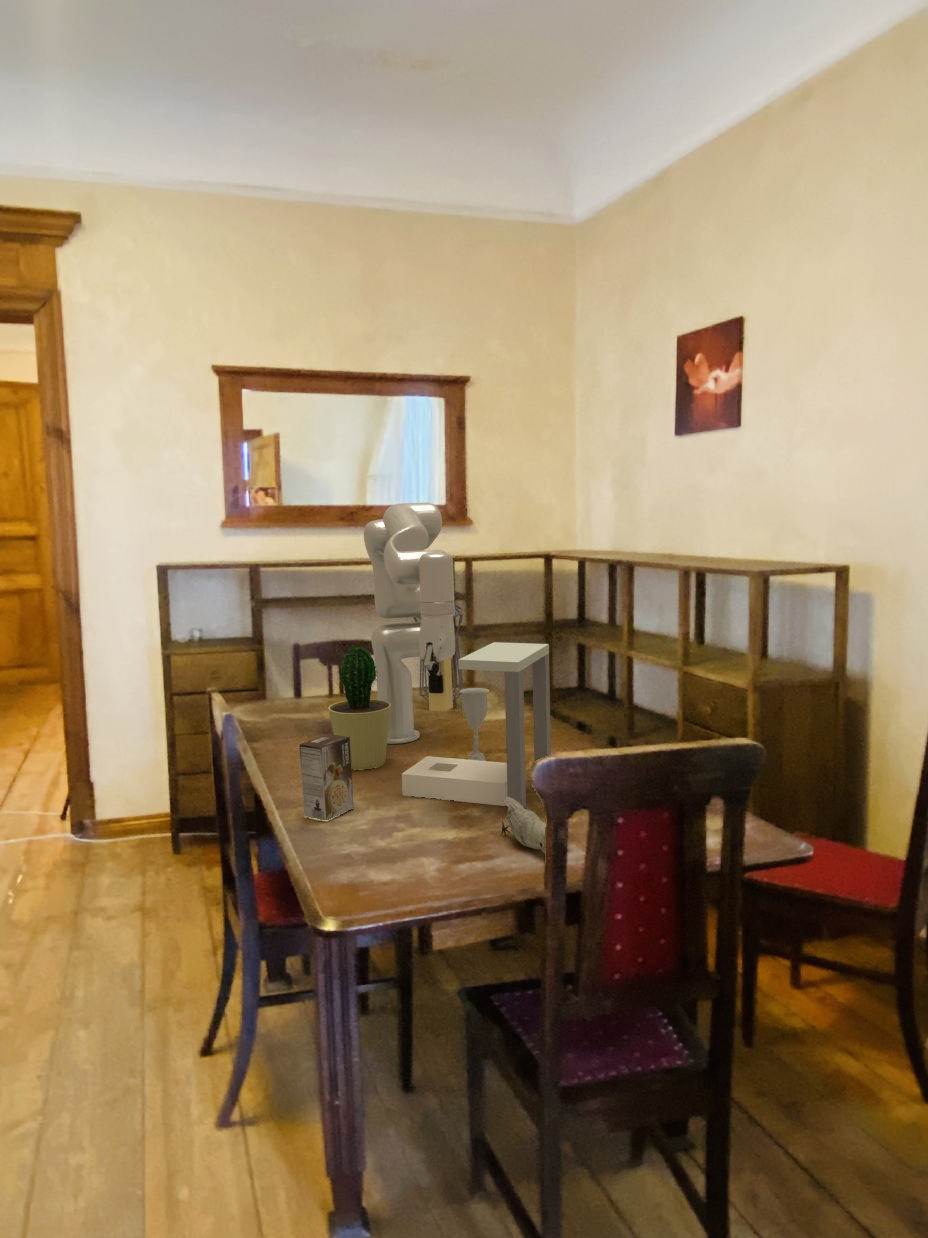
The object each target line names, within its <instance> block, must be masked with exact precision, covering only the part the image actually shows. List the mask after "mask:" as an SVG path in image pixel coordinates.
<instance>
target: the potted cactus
mask: <svg viewBox="0 0 928 1238" xmlns="http://www.w3.org/2000/svg"><path fill="white" fill-rule="evenodd" d="M341 656H342V657H344V659H343V660H342V661H341V665H340V666H338V668H340V670H338V672H340V673H338V672H337V674H339V675H340V676H339V678H337V680H338V682H341V684H343V685H342V686H343V690H342V692H341V693H343V692H344V693H343V695H344V696H343V697H342V698H344V699H345V698H346V700H342V701H337V702H335V703H332V704H330V705H328V707H327V710H328V712H329V713H328V714H329V719H330V724H331V729H332V733H333V734H332V735H339V736H346V737H350V752H351V768H352V769H371V768H375V767H378V768H380V766H381V765H383V764H384V763H386V757H387V746H388V743H387V739H388V729H389V719H390V706H391V704H390V703H389V702H387V701H384V700H378V698H377V699H373V698H371V696H372V694H375V693H376V692H374V691H373V690H372V688H373V684H374V683H375V681H376V682H377V681H378V680H377V677H378V676H377V675H376V674H377V673H376V672H377V671H376V667H377V666H376V664H375V659H374V657H372V652H369V651H368V649H367V647H363V646H362V647H361V646H360V647H356V646H352V647H351V648H349V647H348V651H347V652H345V654H344V653H343V654H341ZM378 666H379V665H378ZM384 765H385V764H384ZM384 765H383V766H384ZM381 767H382V766H381ZM375 769H376V768H375ZM371 770H372V769H371Z"/></svg>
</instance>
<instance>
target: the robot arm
mask: <svg viewBox="0 0 928 1238" xmlns="http://www.w3.org/2000/svg"><path fill="white" fill-rule="evenodd" d="M442 526H443V516H442V513H441V510H440V509H439V507H438V506H436V505H435V504H434V503H432V502H404V503H397V504H396V503H395V504H392V505H391V506H389V507H388V508H386V510H385V511H384V514H383V517H382V518H381V519H374V520H371V521H369V522H367V523H366V525H365V526H364V528H363V541H364V546H365V550H366V553H367V555H368V557H369V560H370V563H371V566H372V572H373V573H372V574H373V576H372V577H373V591H374V592H373V593H374V605H375V611H376V614H377V615H378V616H379V617H380V618H383V619H403V618H404V619H405V618H406V619H407V618H413V617H416V618H417V620H418V622H415V621H410V622H393V623H385V624H380V625H378V626H377V627H376V628H374V629H373V631H372V633H371V637H370V638H371V647H372V651H373V652H372V653H373V658H374V662H375V664H376V666H377V667H376V666H375V667H376V669H375V670H376V671H377V672H376V673H377V674H376V675H377V676H378V677H377V676H376V679H377V680H378V681H377V680H376V691H377V692H376V695H377V696H376V697H377V700H384V701H387V702H389V703H390V704H391V706H390V719H389V729H388V739H387V745H388V744H389V745H391V744H392V745H395V744H406V743H411V742H414V741H417V740H419V738H420V736H421V734H420V732H419V730H417V729H415V726H414V724H415V723H414V705H413V703H414V699H413V696H414V695H413V678H412V673H411V671H410V668H409V667H408V666H407V665H406V664H405V663H404V662H403V661H402V660H403V659H407V658H416V657H417V658H419V661H420V660H421V661H422V662H424V661H425V662H424V666H425V667H426V671H427V678H428V677H429V689H428V693H429V692H430V693H440V694H441V693H443V675H441V661H443V660H445V659H447V658H449V657H451V663H452V657H453V658H454V654H455V636H456V635H455V634H456V633H455V624H454V618H453V616H454V615H455V606H454V604H455V581H454V560H453V559H454V558H453V556H452V555H451V554H450V553H448V552H446V551H445V550H442V549H429V547H431V545H432V544H433V543H434V541H435V540H436V539H437V538H438V536H439V535H440V534H441V531H442V529H443V527H442ZM433 658H436V660H437V661H432V659H433ZM375 664H374V665H375ZM433 664H437V667H436V666H435V665H433ZM378 665H379V666H378Z"/></svg>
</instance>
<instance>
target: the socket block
mask: <svg viewBox="0 0 928 1238" xmlns="http://www.w3.org/2000/svg"><path fill="white" fill-rule="evenodd" d="M401 788H402V789H401V791H402V792H401V794H402V796H404V797H411V796H415V797H414V798H421V797H425V798H424V799H431V798H436V799H435V800H440V799H441V800H443V801H450V800H454V801H453V802H459V803H461V802H462V803H469V804H470V803H471V804H479V805H481V804H483V805H490V806H501V807H505V806H506V807H507V805H506V804H505V802H504V800H505V799H506V797H508V794H507V762H503V761H502V762H499V761H498V762H497V761H491V760H490V761H489V760H486V761H478V760H468V759H466V758H465V759H463V758H454V757H452V758H451V757H440V756H431V755H430V756H427V755H426V756H425V757H424V758H422V759H420V761H418V762H417V763H415V764H414V765H412V766H410V767H409V768H407V770H405V771H403V772H402V773H401Z"/></svg>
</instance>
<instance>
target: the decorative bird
mask: <svg viewBox="0 0 928 1238" xmlns="http://www.w3.org/2000/svg"><path fill="white" fill-rule="evenodd" d="M504 802H505V804H506V807H507V812H506V813H507V814H506V817H507V823H508V824H507V825H506V826H505V825H504V821H501V825H502V827H501V834H500V836H502V835H503V834H504V837H505V836H506V835H507V834H506V833H509V834H510V831H511V832H512V834H513V836H514V837H515V839H516V841H518V842H519V843H520V844H521V845H523V846H524V847H527V848H531V849H533V850H537V851H538V850H541V851H542V853H544V855H545V827H546V823H545V822H543V821H541V818H540V817H539V815H537V813H536V812H534V811H533V810H532V809H529V808H528V807H526V808H525V807H523V806H522V805H521V804H520V803H519V802H517V801H515V799H513V798H510V797H506V799H505V800H504ZM508 807H509V809H508ZM508 828H510V831H509V830H508Z"/></svg>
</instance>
